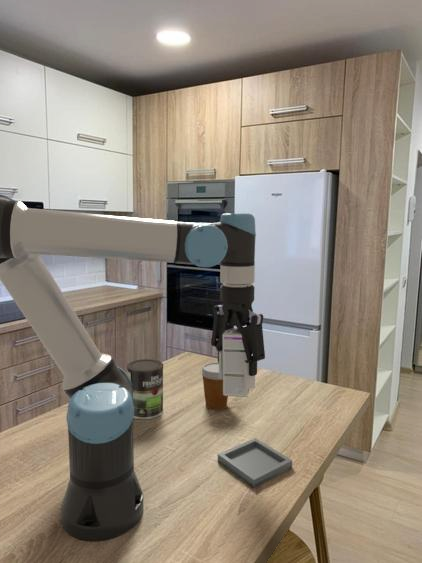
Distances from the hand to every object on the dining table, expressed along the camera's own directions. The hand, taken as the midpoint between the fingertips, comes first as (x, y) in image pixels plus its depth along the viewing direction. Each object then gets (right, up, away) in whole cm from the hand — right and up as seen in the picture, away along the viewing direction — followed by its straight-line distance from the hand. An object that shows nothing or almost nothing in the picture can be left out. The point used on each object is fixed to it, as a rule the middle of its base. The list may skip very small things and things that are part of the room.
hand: (236, 382), depth 96 cm
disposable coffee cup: (-4, -14, +30) cm, 34 cm away
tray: (+4, -19, 0) cm, 19 cm away
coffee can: (-25, -15, +26) cm, 38 cm away
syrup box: (0, -2, 0) cm, 2 cm away
